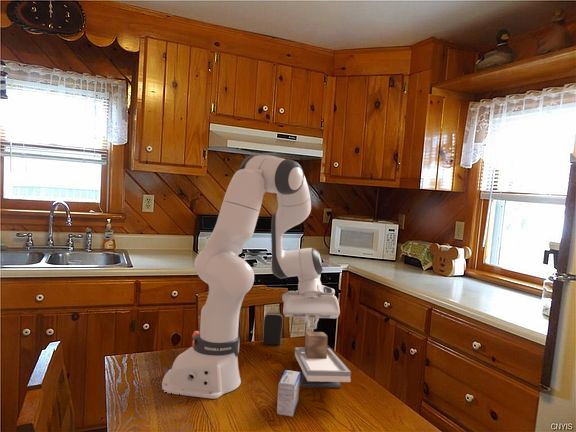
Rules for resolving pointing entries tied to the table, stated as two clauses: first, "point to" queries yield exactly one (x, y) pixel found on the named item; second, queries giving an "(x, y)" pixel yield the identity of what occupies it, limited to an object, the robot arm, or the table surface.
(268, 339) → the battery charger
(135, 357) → the table surface
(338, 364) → the white flat rectangular tray
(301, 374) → the pivot stand
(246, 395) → the table surface
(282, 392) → the medicine box
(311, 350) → the walnut block
